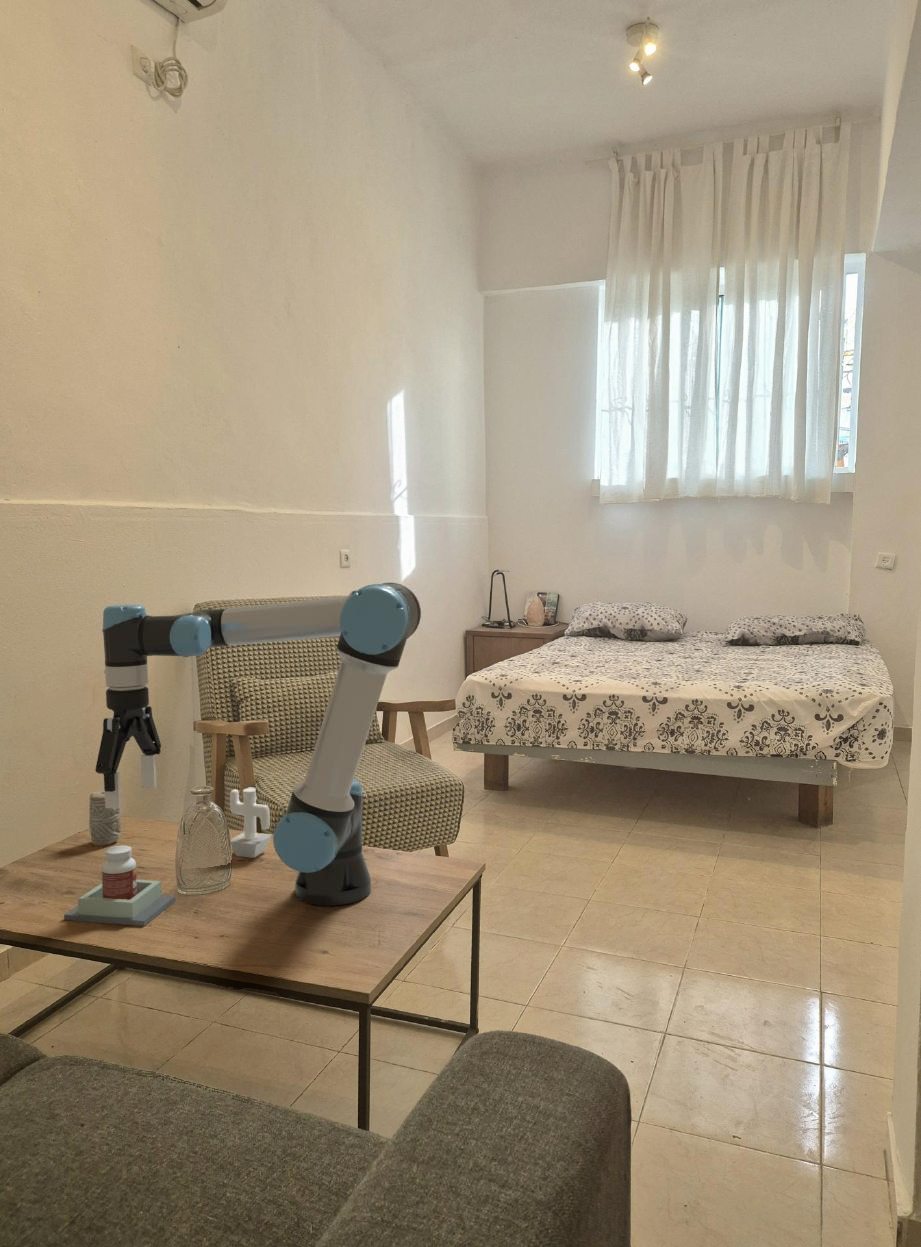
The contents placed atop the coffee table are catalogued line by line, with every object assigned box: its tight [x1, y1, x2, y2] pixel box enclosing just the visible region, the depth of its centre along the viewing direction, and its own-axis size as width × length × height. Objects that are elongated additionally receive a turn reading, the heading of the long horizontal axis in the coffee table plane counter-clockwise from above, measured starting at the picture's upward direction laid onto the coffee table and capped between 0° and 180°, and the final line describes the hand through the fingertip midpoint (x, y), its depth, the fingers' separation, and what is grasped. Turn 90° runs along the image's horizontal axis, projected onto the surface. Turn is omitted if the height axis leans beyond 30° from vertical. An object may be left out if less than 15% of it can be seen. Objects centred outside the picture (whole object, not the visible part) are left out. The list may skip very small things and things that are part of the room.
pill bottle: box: [101, 845, 138, 900], centre depth 170 cm, size 6×6×11 cm
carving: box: [88, 790, 122, 847], centre depth 209 cm, size 6×8×12 cm
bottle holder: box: [63, 879, 176, 927], centre depth 171 cm, size 16×12×4 cm
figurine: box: [229, 786, 273, 859], centre depth 202 cm, size 7×9×15 cm
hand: (131, 797), depth 171 cm, fingers open, 13 cm apart
